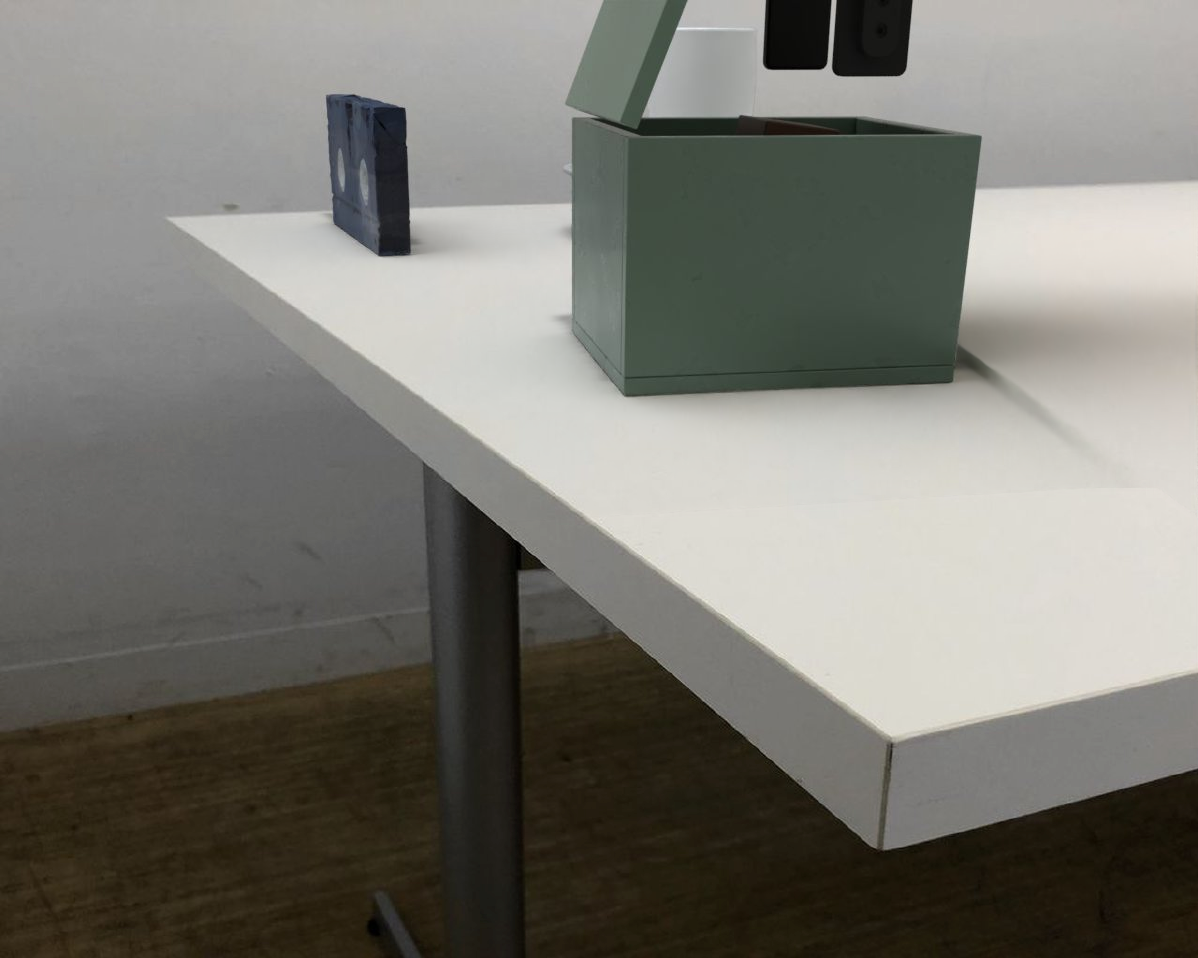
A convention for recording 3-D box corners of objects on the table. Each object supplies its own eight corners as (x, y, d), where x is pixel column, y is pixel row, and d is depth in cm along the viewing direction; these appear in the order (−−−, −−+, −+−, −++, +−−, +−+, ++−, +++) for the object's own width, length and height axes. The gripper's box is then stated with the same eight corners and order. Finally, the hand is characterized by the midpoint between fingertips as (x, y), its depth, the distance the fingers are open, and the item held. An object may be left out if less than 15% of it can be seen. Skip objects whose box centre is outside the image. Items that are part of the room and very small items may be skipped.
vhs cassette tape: (413, 254, 93) (406, 106, 89) (372, 256, 92) (363, 106, 88) (368, 221, 109) (360, 93, 105) (332, 222, 108) (323, 94, 104)
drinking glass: (667, 264, 90) (674, 27, 84) (760, 272, 87) (774, 28, 82) (626, 278, 85) (630, 27, 79) (723, 288, 82) (735, 27, 76)
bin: (847, 322, 72) (864, 116, 68) (953, 382, 60) (982, 135, 56) (571, 331, 70) (571, 117, 65) (624, 396, 58) (628, 137, 53)
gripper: (1048, -439, 46) (989, 79, 53) (867, -321, 62) (839, 67, 69) (848, -453, 45) (814, 79, 52) (714, -329, 61) (702, 68, 67)
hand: (829, 72), depth 60 cm, fingers open, 9 cm apart
